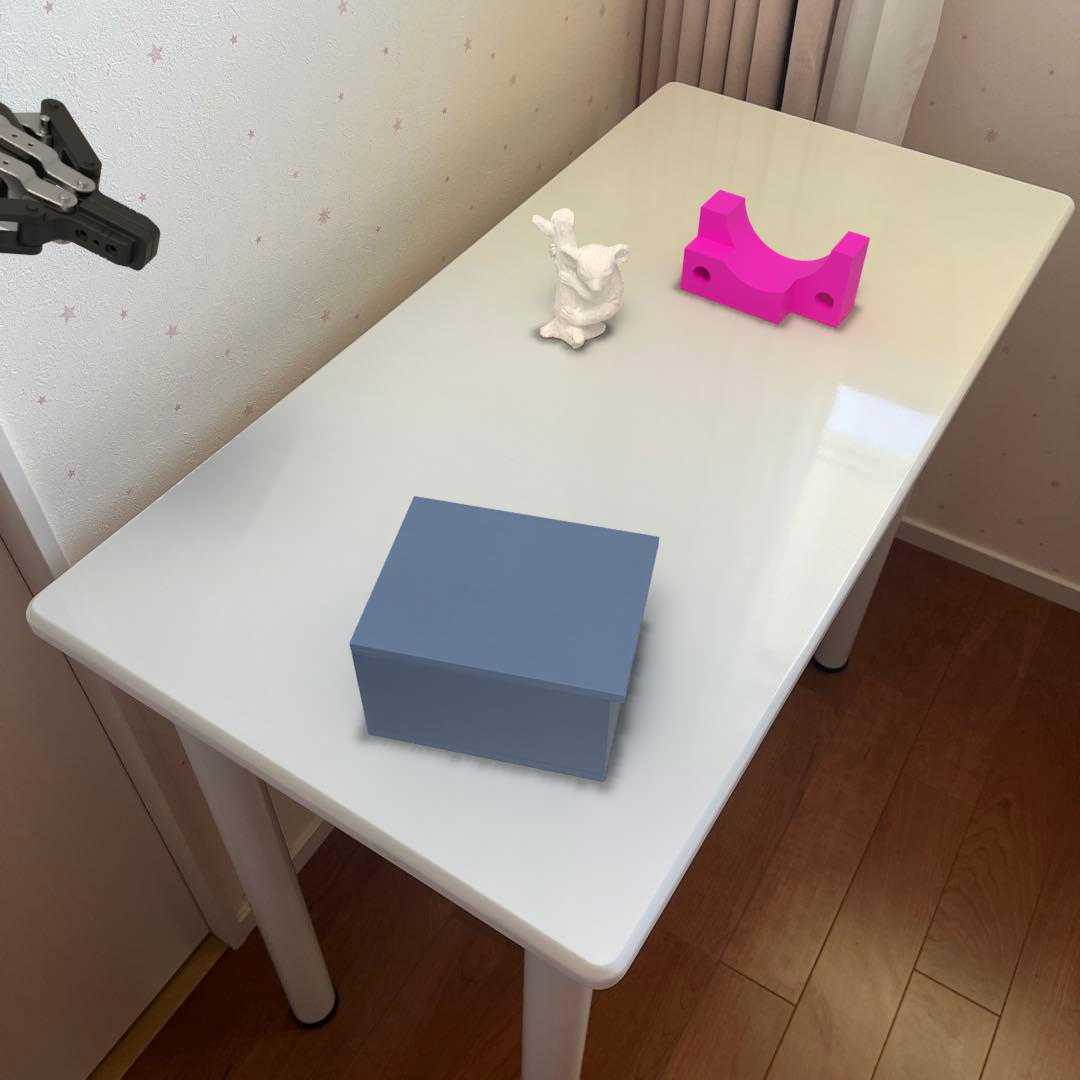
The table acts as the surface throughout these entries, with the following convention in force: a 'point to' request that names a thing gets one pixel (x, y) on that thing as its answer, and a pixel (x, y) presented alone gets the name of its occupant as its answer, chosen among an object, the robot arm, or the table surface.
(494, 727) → the blue box
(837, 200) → the table surface
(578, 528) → the box lid
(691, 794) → the table surface
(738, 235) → the magenta pillow block
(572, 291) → the koala figurine
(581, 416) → the table surface
